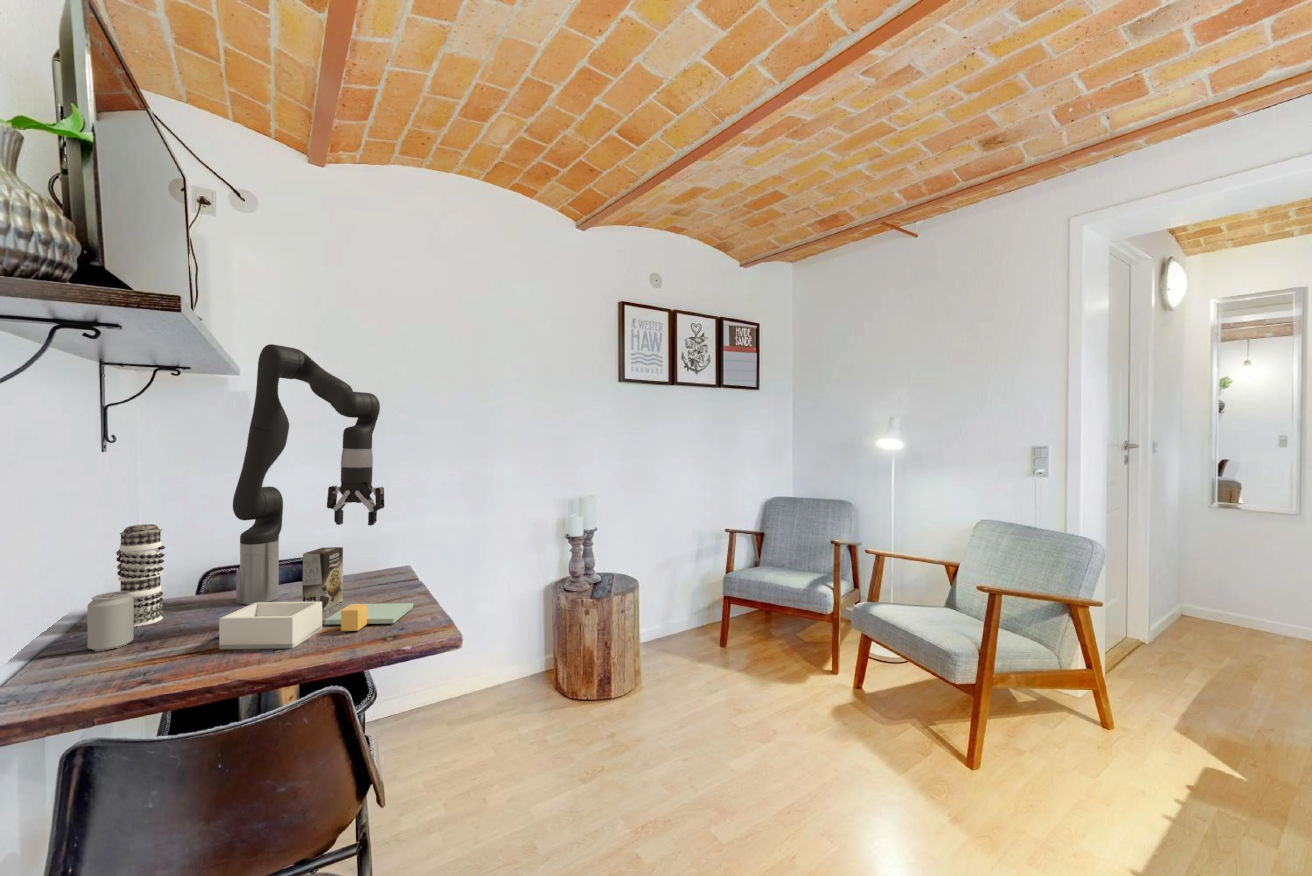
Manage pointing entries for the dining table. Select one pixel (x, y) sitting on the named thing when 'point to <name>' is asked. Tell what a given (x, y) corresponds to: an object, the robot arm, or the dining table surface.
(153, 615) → the decorative candle
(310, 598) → the coffee box
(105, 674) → the dining table surface
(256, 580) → the robot arm
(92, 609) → the can
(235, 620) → the tub
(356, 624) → the lid
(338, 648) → the dining table surface
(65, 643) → the dining table surface
